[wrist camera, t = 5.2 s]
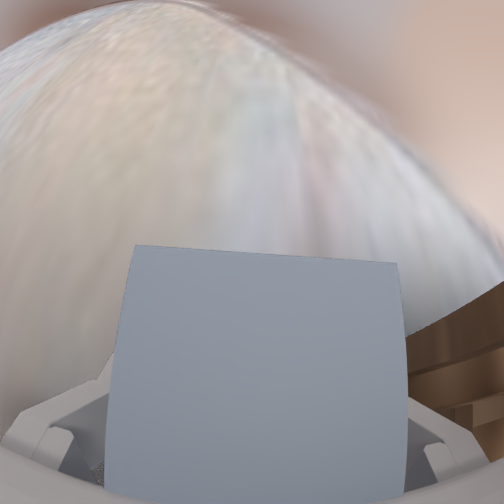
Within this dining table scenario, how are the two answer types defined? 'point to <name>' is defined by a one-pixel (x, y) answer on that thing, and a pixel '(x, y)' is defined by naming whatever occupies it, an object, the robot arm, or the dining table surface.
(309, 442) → the peg
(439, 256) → the dining table surface
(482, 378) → the wooden frame stand
